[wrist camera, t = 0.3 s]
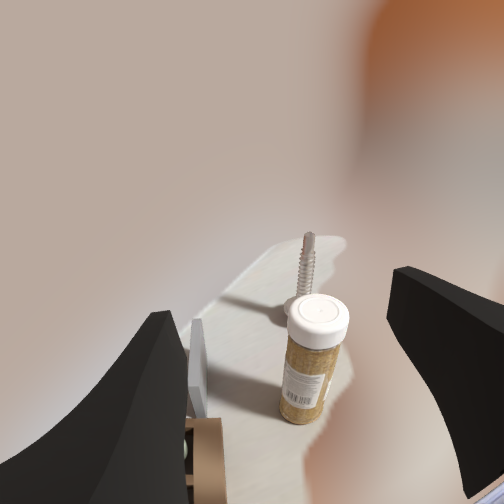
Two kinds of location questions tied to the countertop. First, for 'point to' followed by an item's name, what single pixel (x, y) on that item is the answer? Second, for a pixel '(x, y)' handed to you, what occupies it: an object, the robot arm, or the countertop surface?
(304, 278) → the screw
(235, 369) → the countertop surface
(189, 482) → the wooden compartment tray
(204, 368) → the card
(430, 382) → the robot arm
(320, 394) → the sprinkles bottle
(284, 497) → the countertop surface
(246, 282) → the countertop surface
